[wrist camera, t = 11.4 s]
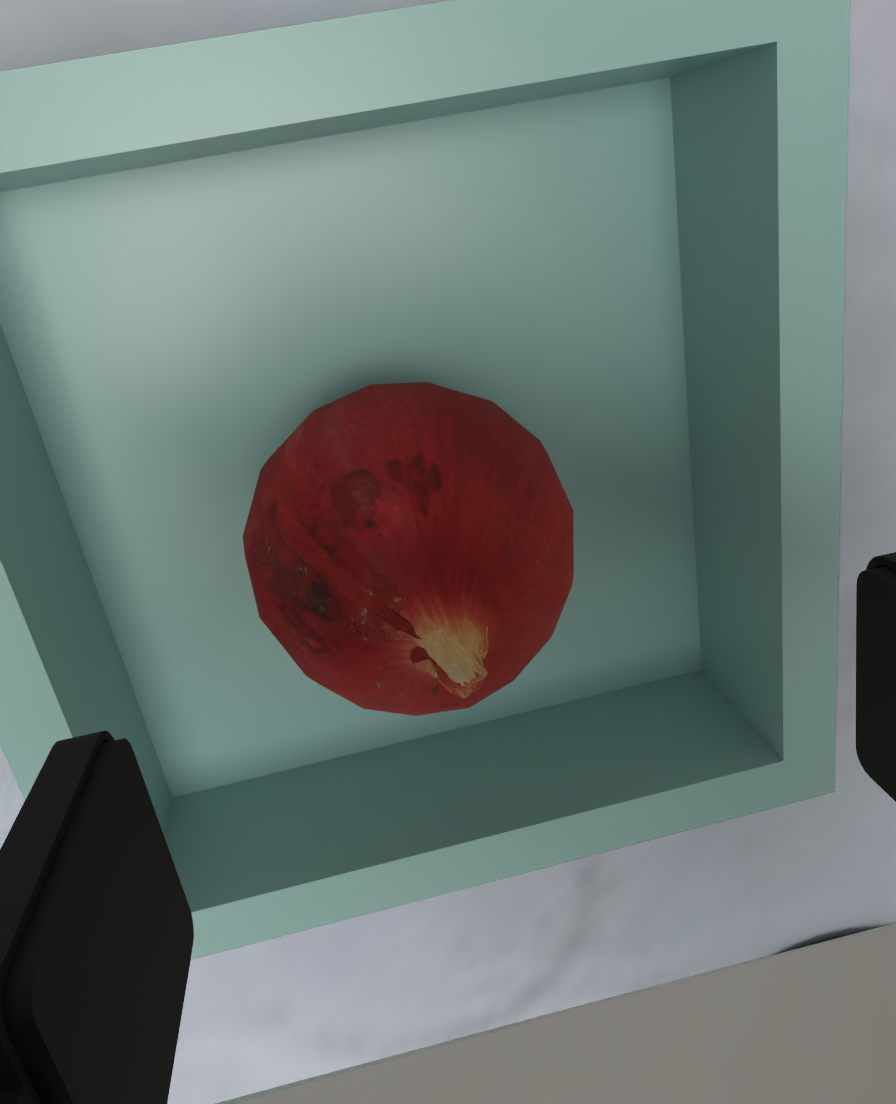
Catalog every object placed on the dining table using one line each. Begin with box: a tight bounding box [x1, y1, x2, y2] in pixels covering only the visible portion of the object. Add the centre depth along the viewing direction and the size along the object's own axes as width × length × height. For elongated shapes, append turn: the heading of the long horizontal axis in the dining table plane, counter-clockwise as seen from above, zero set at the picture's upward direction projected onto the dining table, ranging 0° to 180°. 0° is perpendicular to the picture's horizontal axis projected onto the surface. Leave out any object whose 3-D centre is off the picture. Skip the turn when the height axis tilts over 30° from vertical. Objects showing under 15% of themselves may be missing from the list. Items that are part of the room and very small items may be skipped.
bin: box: [0, 0, 850, 960], centre depth 17 cm, size 16×16×5 cm
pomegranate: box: [243, 382, 574, 716], centre depth 15 cm, size 6×6×8 cm
